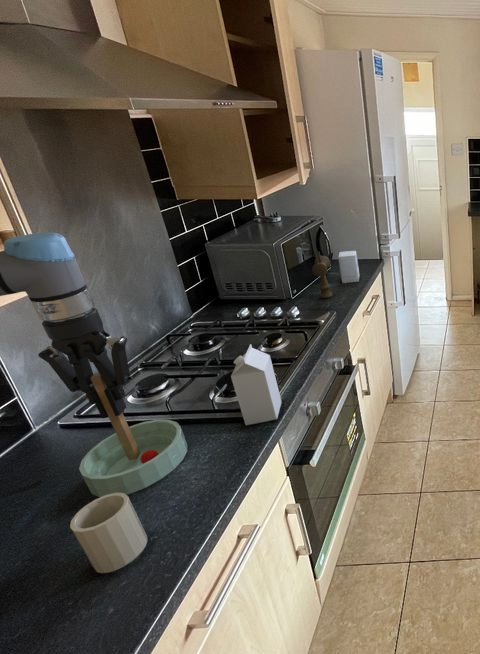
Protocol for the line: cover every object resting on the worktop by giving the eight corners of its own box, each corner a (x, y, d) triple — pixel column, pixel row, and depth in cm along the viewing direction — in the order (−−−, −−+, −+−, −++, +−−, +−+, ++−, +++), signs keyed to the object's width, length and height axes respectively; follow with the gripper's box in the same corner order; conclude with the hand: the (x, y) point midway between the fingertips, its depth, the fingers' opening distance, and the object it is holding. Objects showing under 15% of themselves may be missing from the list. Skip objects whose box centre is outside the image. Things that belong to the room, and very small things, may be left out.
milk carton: (281, 402, 112) (266, 341, 105) (277, 420, 106) (260, 356, 99) (252, 407, 110) (234, 346, 103) (245, 426, 104) (226, 362, 96)
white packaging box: (359, 281, 187) (355, 255, 182) (341, 283, 185) (337, 257, 181) (360, 275, 194) (356, 250, 189) (343, 277, 192) (339, 251, 187)
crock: (85, 581, 70) (59, 537, 66) (109, 541, 76) (86, 498, 72) (137, 568, 72) (114, 524, 68) (156, 530, 78) (136, 488, 74)
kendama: (335, 291, 178) (328, 246, 170) (333, 300, 169) (325, 254, 162) (320, 292, 176) (312, 248, 169) (317, 302, 168) (308, 255, 160)
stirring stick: (128, 460, 91) (89, 378, 83) (132, 455, 93) (94, 373, 84) (137, 458, 92) (99, 376, 83) (140, 453, 93) (104, 372, 85)
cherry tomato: (140, 469, 90) (135, 459, 89) (146, 458, 93) (142, 448, 92) (156, 466, 91) (152, 455, 90) (162, 455, 94) (158, 445, 93)
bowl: (71, 510, 82) (59, 488, 80) (116, 448, 97) (107, 428, 95) (170, 488, 87) (161, 467, 85) (199, 432, 102) (192, 413, 99)
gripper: (3, 329, 73) (59, 432, 82) (105, 317, 77) (147, 417, 86) (34, 310, 80) (82, 408, 89) (126, 300, 84) (163, 394, 93)
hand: (114, 412), depth 88 cm, fingers closed on stirring stick, 2 cm apart
